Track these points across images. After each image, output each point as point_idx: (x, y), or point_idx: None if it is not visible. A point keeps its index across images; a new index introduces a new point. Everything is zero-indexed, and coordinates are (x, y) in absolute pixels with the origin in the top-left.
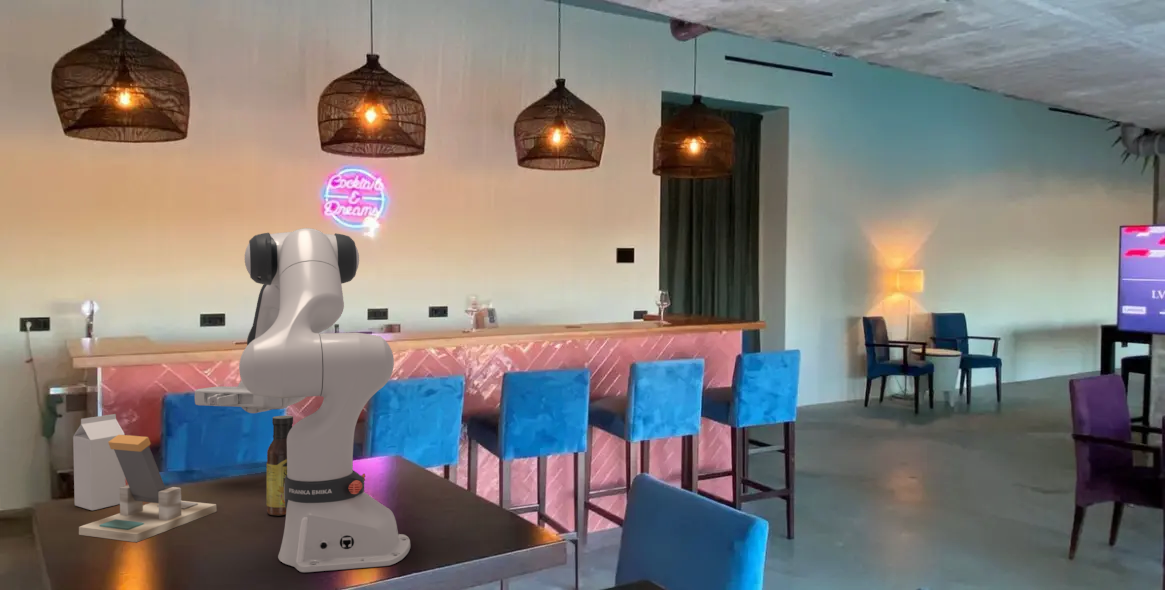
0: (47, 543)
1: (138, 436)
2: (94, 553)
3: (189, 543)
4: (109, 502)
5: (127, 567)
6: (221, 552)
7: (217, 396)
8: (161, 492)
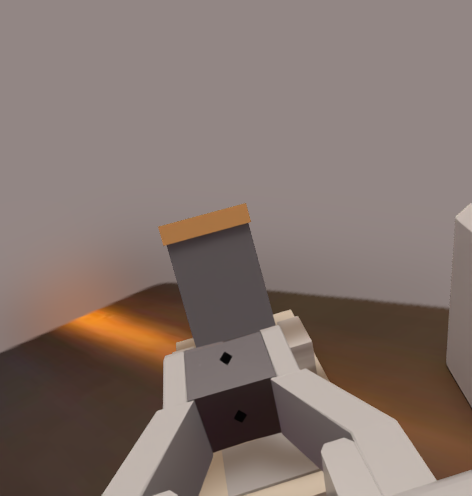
0: (288, 293)
1: (185, 219)
2: None
3: (95, 393)
4: (465, 388)
5: (116, 322)
6: (19, 402)
7: (245, 381)
8: (185, 349)
